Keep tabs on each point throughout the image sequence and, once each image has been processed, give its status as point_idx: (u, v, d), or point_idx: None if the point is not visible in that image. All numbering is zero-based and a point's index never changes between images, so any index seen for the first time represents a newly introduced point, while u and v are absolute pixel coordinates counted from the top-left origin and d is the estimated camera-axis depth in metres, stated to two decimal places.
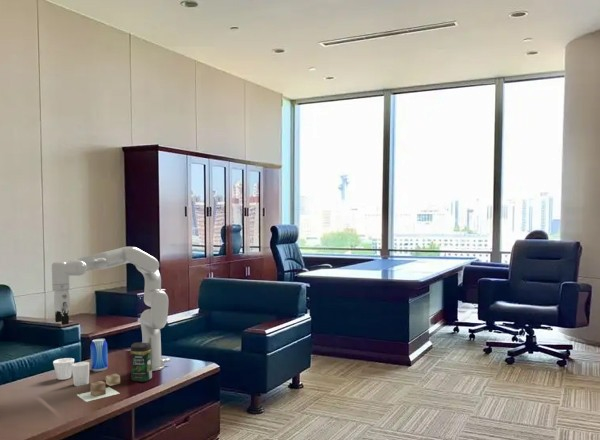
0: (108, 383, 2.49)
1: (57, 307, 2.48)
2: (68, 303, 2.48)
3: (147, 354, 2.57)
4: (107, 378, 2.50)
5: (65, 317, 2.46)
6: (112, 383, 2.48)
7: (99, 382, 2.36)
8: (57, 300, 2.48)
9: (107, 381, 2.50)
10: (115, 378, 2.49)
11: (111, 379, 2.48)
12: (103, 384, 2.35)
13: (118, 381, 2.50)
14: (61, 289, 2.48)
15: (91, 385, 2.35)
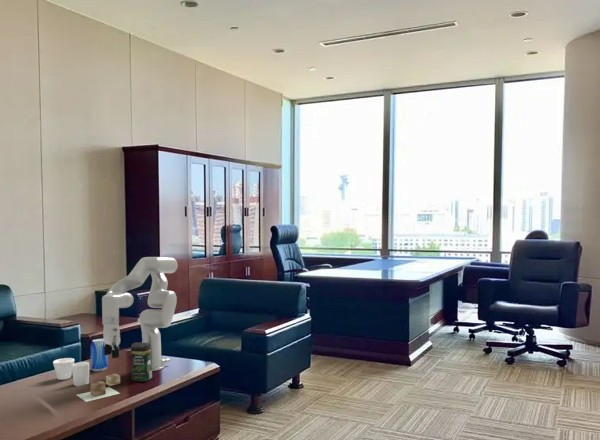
0: (108, 383, 2.49)
1: (107, 340, 2.48)
2: (118, 336, 2.48)
3: (147, 354, 2.57)
4: (107, 378, 2.50)
5: (115, 351, 2.46)
6: (112, 383, 2.48)
7: (99, 382, 2.36)
8: (107, 333, 2.48)
9: (107, 381, 2.50)
10: (115, 378, 2.49)
11: (111, 379, 2.48)
12: (103, 384, 2.35)
13: (118, 381, 2.50)
14: (112, 322, 2.48)
15: (91, 385, 2.35)
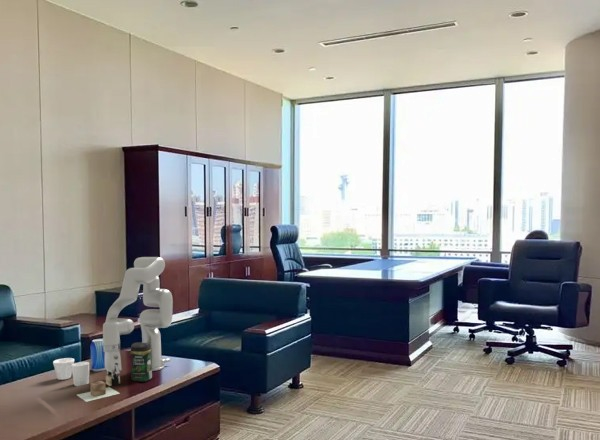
0: (108, 383, 2.49)
1: (108, 368, 2.48)
2: (119, 364, 2.48)
3: (147, 354, 2.57)
4: (107, 378, 2.50)
5: (115, 380, 2.48)
6: None
7: (99, 382, 2.36)
8: (109, 361, 2.48)
9: (107, 381, 2.50)
10: None
11: (111, 379, 2.48)
12: (103, 384, 2.35)
13: None
14: (113, 350, 2.48)
15: (91, 385, 2.35)
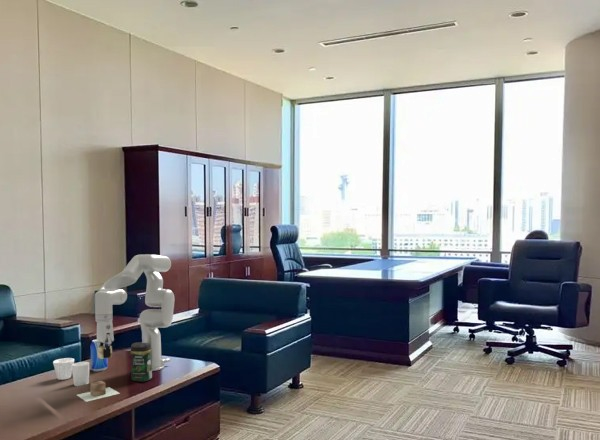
0: (100, 353, 2.41)
1: (100, 338, 2.41)
2: (112, 334, 2.41)
3: (147, 354, 2.57)
4: (99, 348, 2.42)
5: (107, 350, 2.41)
6: None
7: (99, 382, 2.36)
8: (100, 331, 2.41)
9: (98, 352, 2.42)
10: None
11: None
12: (103, 384, 2.35)
13: None
14: (105, 319, 2.41)
15: (91, 385, 2.35)
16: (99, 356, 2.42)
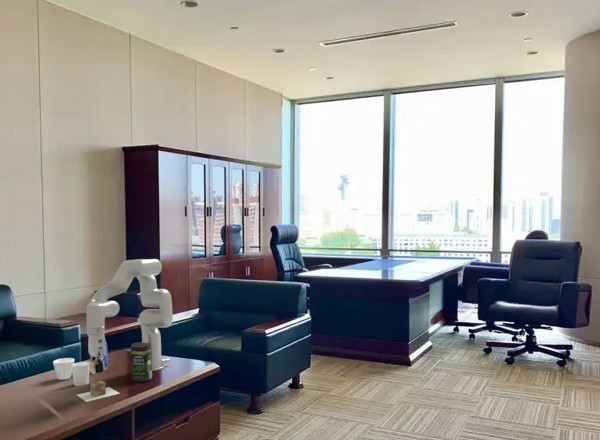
0: (92, 368, 2.33)
1: (92, 352, 2.33)
2: (104, 348, 2.33)
3: (147, 354, 2.57)
4: (90, 363, 2.34)
5: (99, 365, 2.32)
6: None
7: (99, 382, 2.36)
8: (92, 345, 2.32)
9: (90, 366, 2.34)
10: None
11: None
12: (103, 384, 2.35)
13: None
14: (97, 333, 2.32)
15: (91, 385, 2.35)
16: (91, 371, 2.34)
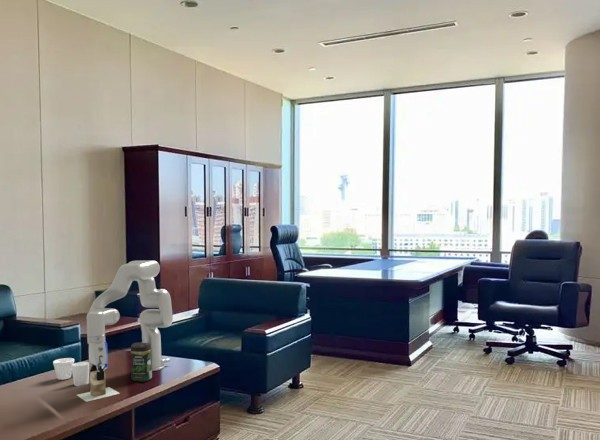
0: (92, 379, 2.33)
1: (93, 360, 2.33)
2: (104, 356, 2.33)
3: (147, 354, 2.57)
4: (91, 374, 2.34)
5: (101, 373, 2.32)
6: (96, 380, 2.33)
7: None
8: (93, 353, 2.32)
9: (91, 377, 2.34)
10: None
11: (95, 375, 2.33)
12: (103, 384, 2.35)
13: None
14: (97, 341, 2.32)
15: (91, 385, 2.35)
16: (92, 382, 2.34)
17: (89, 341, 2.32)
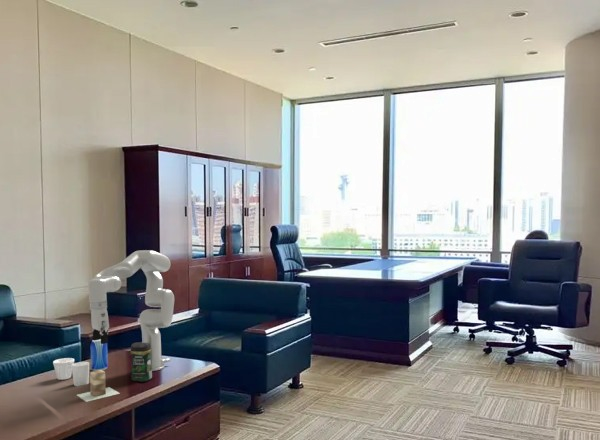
0: (92, 379, 2.33)
1: (95, 326, 2.41)
2: (107, 321, 2.40)
3: (147, 354, 2.57)
4: (91, 374, 2.34)
5: (104, 336, 2.39)
6: (96, 380, 2.33)
7: None
8: (95, 319, 2.40)
9: (91, 377, 2.34)
10: (99, 374, 2.34)
11: (95, 375, 2.33)
12: (103, 384, 2.35)
13: (103, 377, 2.35)
14: (99, 307, 2.40)
15: (91, 385, 2.35)
16: (92, 382, 2.34)
17: (91, 307, 2.40)
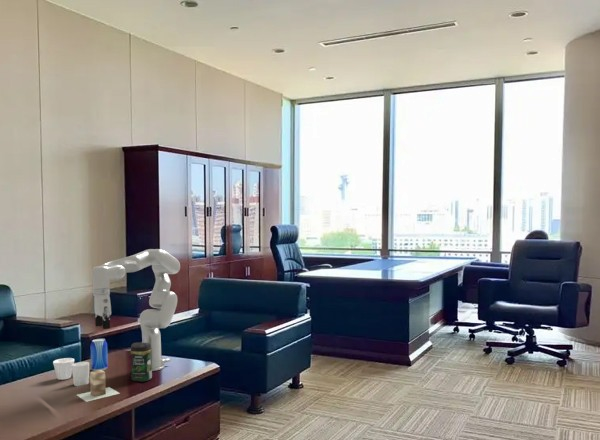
0: (92, 379, 2.33)
1: (98, 311, 2.49)
2: (109, 307, 2.49)
3: (147, 354, 2.57)
4: (91, 374, 2.34)
5: (106, 321, 2.47)
6: (96, 380, 2.33)
7: None
8: (98, 304, 2.48)
9: (91, 377, 2.34)
10: (99, 374, 2.34)
11: (95, 375, 2.33)
12: (103, 384, 2.35)
13: (103, 377, 2.35)
14: (102, 293, 2.48)
15: (91, 385, 2.35)
16: (92, 382, 2.34)
17: (95, 293, 2.48)
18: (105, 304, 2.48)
